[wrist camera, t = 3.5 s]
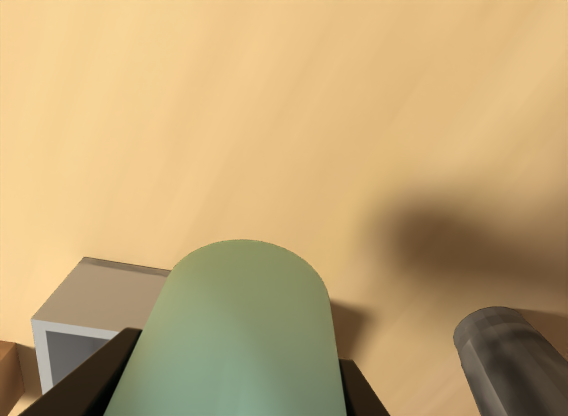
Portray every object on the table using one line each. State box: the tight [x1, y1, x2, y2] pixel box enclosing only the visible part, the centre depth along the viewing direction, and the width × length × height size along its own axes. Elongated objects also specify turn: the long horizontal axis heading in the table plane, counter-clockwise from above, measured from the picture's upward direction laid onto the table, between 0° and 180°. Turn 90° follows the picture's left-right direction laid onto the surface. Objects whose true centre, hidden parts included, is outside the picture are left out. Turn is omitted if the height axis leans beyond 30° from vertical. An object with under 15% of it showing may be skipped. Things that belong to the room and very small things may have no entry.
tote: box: [31, 257, 171, 395], centre depth 24 cm, size 17×13×5 cm
